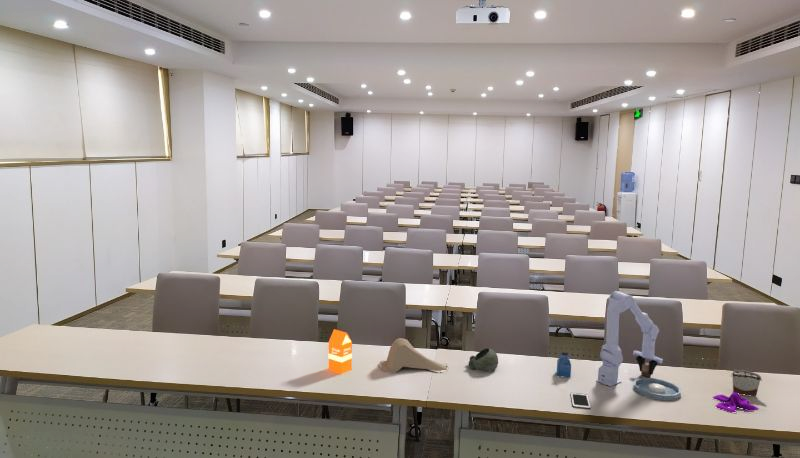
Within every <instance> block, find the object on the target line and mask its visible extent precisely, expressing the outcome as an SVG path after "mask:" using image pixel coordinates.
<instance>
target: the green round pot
mask: <svg viewBox="0 0 800 458" xmlns="http://www.w3.org/2000/svg"><path fill="white" fill-rule="evenodd" d="M498 365H499V356H498V354H497V352H496V351H495V350H493V349H492V348H490V347H489V348H487V347H486V348H483V349H481V350H480V351H479V352H478V353H477V354H476V355H471V356H470V357H469V360H468V367H469V369H470V370H475V369H477V370H479V371H481V372H493V371H495V370H497V368H498Z"/></svg>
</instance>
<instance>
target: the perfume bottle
mask: <svg viewBox="0 0 800 458" xmlns="http://www.w3.org/2000/svg"><path fill="white" fill-rule="evenodd" d="M556 360H557V361H556V375H557V377H558V376H564V377H563V378H568V377H570V378H572V377H571V373H572V363H571V360H570V358H569V351H568V350H561V353H560V356H559V357H558V359H556Z"/></svg>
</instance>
